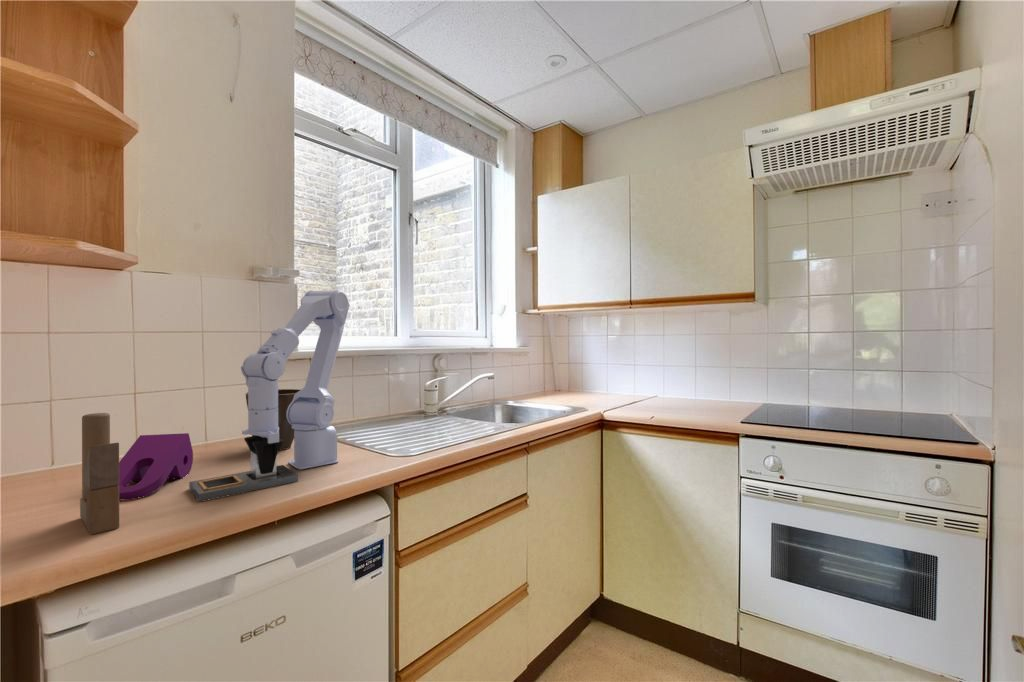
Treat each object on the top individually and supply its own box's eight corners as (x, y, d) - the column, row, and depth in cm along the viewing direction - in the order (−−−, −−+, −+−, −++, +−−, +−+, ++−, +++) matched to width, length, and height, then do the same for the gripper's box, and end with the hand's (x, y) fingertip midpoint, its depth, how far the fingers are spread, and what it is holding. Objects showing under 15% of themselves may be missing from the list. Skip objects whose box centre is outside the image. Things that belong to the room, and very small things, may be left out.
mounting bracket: (161, 522, 91) (195, 462, 107) (151, 490, 88) (188, 433, 103) (105, 527, 89) (148, 464, 104) (93, 494, 85) (140, 435, 101)
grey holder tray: (282, 471, 106) (282, 464, 106) (298, 481, 98) (298, 473, 98) (189, 489, 93) (189, 481, 93) (199, 502, 86) (199, 493, 86)
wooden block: (89, 535, 71) (89, 422, 71) (79, 518, 78) (79, 414, 78) (120, 528, 74) (120, 418, 74) (108, 511, 81) (107, 411, 81)
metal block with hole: (270, 476, 101) (270, 447, 101) (276, 481, 98) (276, 450, 98) (250, 480, 98) (250, 450, 98) (256, 485, 95) (255, 454, 95)
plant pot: (237, 448, 127) (237, 391, 127) (292, 439, 138) (292, 387, 138) (256, 458, 117) (256, 396, 117) (314, 447, 128) (314, 391, 128)
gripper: (233, 406, 100) (233, 467, 101) (252, 414, 90) (252, 482, 90) (268, 403, 105) (268, 461, 106) (289, 410, 95) (289, 475, 95)
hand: (263, 470), depth 98 cm, fingers closed on metal block with hole, 4 cm apart
